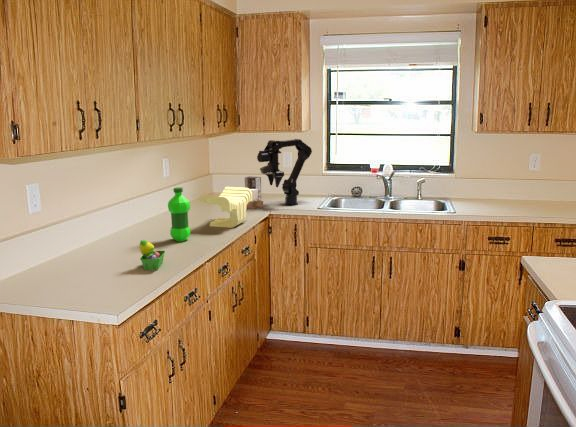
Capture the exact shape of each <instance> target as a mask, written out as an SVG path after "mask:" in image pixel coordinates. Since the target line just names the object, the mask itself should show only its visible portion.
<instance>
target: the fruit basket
mask: <svg viewBox="0 0 576 427" xmlns="http://www.w3.org/2000/svg"><path fill="white" fill-rule="evenodd" d="M139 247H140V248H139V250H140V253H141V254H142V256H141V257H140V258H139V259H140V261H141V264H142V266H143V269H144V271H158V270H159V269H160V267H161V266H162V264H163V262H164V257H165V253H166V250H155V246H154V244H152V243H151V242H149V241H148V240H146V239H143V240H140V243H139Z"/></svg>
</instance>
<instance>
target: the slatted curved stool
mask: <svg viewBox="0 0 576 427" xmlns="http://www.w3.org/2000/svg"><path fill="white" fill-rule="evenodd" d="M250 201H252V192H251V190H250V189H249V188H245V186H244V187H239V186H237V187H236V186H225V187H224V189H223V190H222V192H221V193H220V194H219V196H211V195H200V202H203V203H207V204H209V205H216V206H217V205H218V207H219V208H220V209H221V212H222V213H223V212H224V213H225V212H227V213H229V217H219V218H217V219H214V220H212V221H211V222H209V227H216V228H230V229H232V228H235V227H236V226H239V225H240V224H242V223H244V222H245V221H246V219H247V204H248V202H250Z"/></svg>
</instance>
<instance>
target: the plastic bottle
mask: <svg viewBox="0 0 576 427" xmlns="http://www.w3.org/2000/svg"><path fill="white" fill-rule="evenodd" d="M183 190H184V189H183V187H174V188H173V193H174V196H172V197H171V198H170V199H169V200H168V202H167V209H168V211H169V212H170V216H171V217H170V218H171V228H170V231H169V234H170V237H171V238H172V239H173V240H176V242H185V241H187V239H188V238H190V236H191V228H190V226H189V214H188V213H189V211H190V210H191V204H190V201H189V199H187V197H185V196H184V195H183V194H182V193H184V191H183Z"/></svg>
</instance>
